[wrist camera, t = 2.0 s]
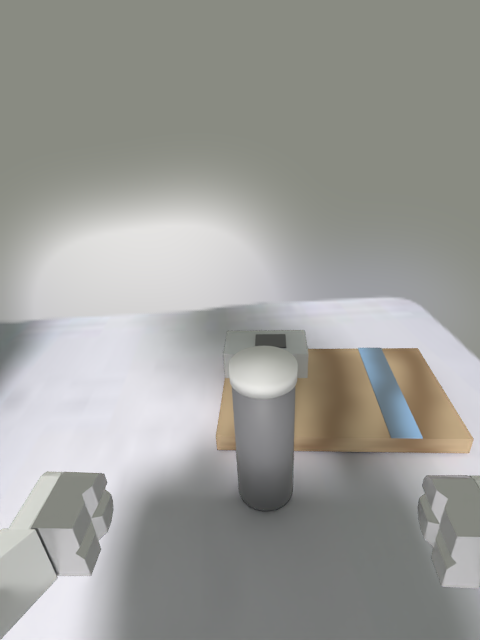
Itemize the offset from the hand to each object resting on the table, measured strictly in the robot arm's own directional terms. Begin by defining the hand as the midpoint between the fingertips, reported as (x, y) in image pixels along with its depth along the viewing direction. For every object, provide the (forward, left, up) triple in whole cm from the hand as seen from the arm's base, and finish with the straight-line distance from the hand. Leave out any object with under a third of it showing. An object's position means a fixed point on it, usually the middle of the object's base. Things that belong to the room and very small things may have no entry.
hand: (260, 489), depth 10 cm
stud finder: (0, +27, -15) cm, 30 cm away
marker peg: (0, +13, -16) cm, 21 cm away
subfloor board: (+6, +23, -16) cm, 29 cm away
